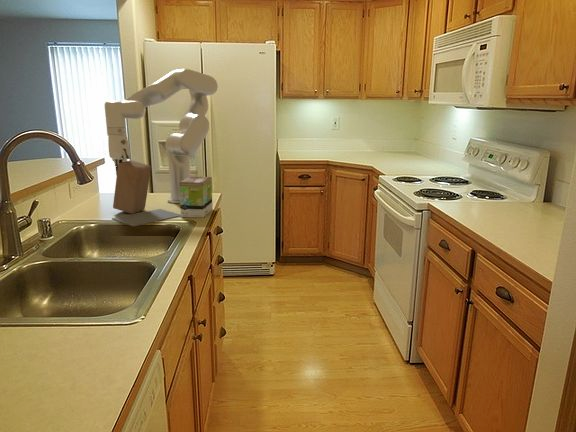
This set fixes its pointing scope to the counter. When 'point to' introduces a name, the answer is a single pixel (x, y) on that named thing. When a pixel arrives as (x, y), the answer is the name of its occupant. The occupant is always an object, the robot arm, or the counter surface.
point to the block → (131, 186)
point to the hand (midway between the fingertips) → (120, 175)
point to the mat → (146, 217)
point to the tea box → (196, 196)
